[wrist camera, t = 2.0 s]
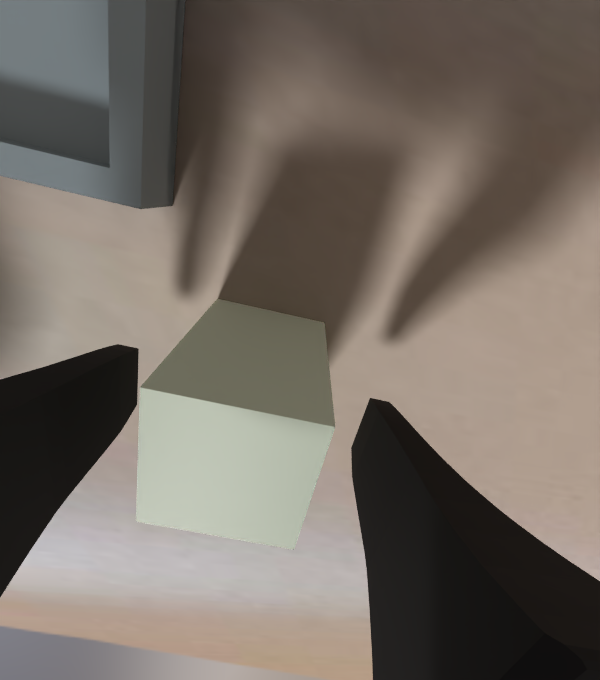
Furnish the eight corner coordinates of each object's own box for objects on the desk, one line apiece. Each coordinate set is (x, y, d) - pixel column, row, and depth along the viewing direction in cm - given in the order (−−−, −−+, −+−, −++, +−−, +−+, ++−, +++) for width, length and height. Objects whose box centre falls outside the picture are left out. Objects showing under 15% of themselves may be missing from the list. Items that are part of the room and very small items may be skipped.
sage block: (300, 409, 14) (293, 549, 8) (206, 389, 14) (136, 521, 8) (324, 322, 12) (335, 426, 7) (217, 298, 12) (140, 387, 7)
